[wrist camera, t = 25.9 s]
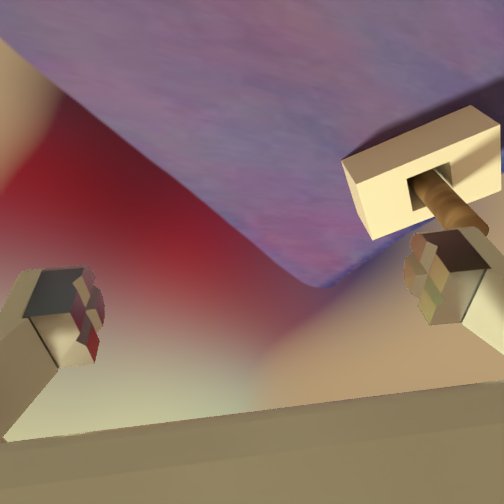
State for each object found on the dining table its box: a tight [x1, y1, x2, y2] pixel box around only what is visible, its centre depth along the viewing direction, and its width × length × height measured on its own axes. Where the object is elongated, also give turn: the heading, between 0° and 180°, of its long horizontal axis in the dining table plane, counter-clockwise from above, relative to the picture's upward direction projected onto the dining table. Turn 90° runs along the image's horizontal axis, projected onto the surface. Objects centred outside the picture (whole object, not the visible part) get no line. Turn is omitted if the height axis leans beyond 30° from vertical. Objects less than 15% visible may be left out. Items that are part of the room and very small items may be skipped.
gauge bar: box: [341, 105, 501, 240], centre depth 49 cm, size 9×16×6 cm, turn 113°
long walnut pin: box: [406, 169, 489, 236], centre depth 46 cm, size 3×3×15 cm
